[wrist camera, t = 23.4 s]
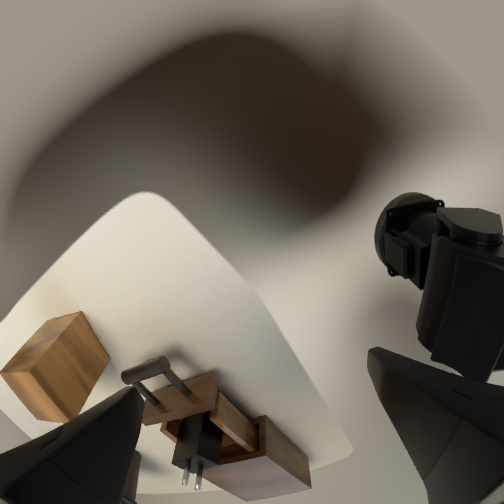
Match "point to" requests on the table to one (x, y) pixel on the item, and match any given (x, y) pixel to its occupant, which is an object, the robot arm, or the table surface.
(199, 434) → the black wall charger
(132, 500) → the coffee cup
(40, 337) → the pedestal
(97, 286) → the table surface
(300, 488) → the cabinet
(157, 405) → the drawer
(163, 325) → the table surface
